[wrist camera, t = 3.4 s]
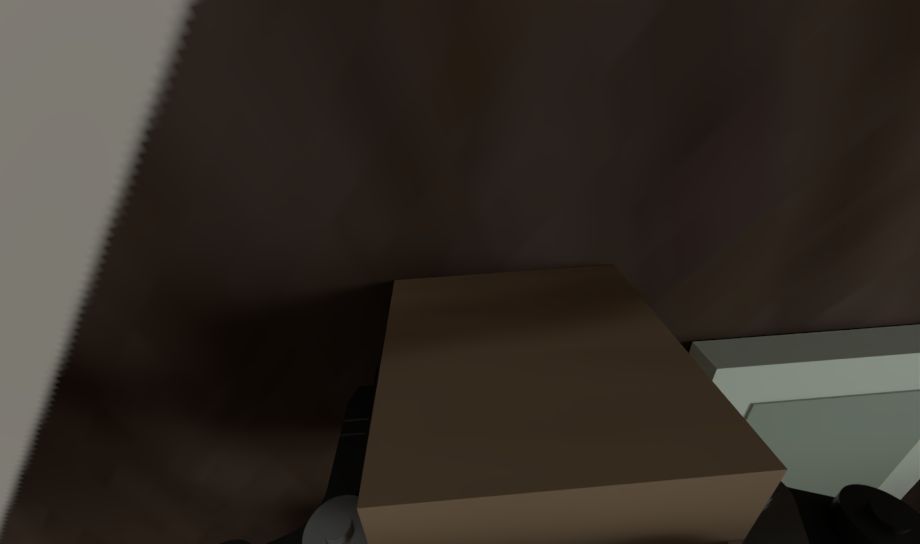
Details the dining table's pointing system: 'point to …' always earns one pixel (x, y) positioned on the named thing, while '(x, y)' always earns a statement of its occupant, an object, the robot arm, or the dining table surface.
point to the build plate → (828, 403)
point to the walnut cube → (551, 420)
